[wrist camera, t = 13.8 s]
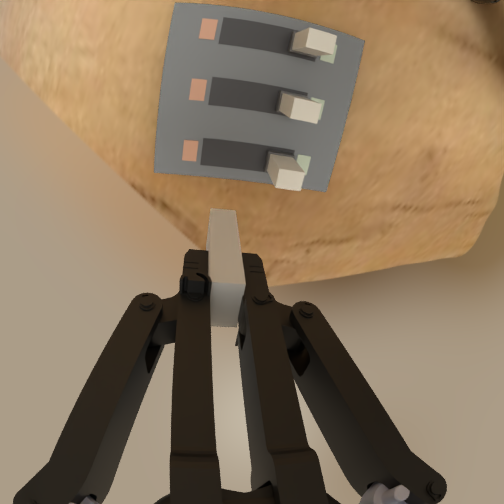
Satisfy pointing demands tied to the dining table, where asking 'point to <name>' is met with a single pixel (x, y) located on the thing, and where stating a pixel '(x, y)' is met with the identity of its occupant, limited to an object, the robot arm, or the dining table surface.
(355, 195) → the dining table surface
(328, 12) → the dining table surface
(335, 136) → the panel
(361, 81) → the dining table surface
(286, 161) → the breaker
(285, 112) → the breaker
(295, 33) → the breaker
